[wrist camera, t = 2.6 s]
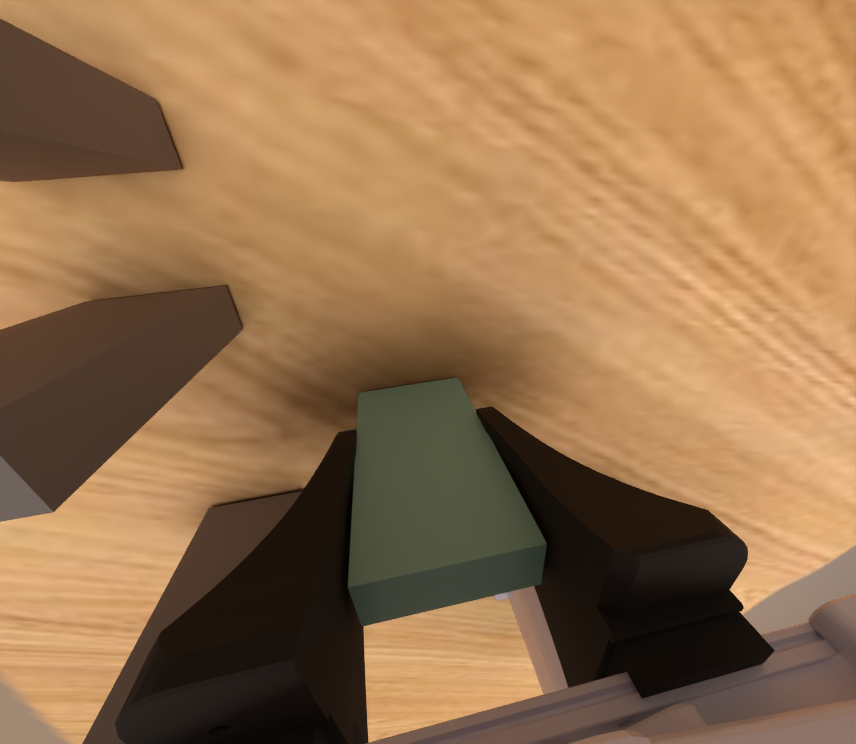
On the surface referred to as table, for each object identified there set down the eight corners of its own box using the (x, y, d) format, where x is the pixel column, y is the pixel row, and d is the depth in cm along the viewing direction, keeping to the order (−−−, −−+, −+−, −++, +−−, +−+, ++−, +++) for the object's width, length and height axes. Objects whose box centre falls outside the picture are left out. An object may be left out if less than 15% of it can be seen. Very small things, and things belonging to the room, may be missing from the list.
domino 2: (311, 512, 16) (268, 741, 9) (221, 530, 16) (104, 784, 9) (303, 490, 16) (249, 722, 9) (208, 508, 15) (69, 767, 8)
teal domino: (459, 407, 15) (541, 584, 8) (364, 422, 14) (361, 626, 7) (457, 377, 14) (546, 543, 7) (358, 392, 14) (347, 587, 7)
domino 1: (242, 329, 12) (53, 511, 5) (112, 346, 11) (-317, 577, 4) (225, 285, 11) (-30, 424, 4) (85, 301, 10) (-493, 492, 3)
